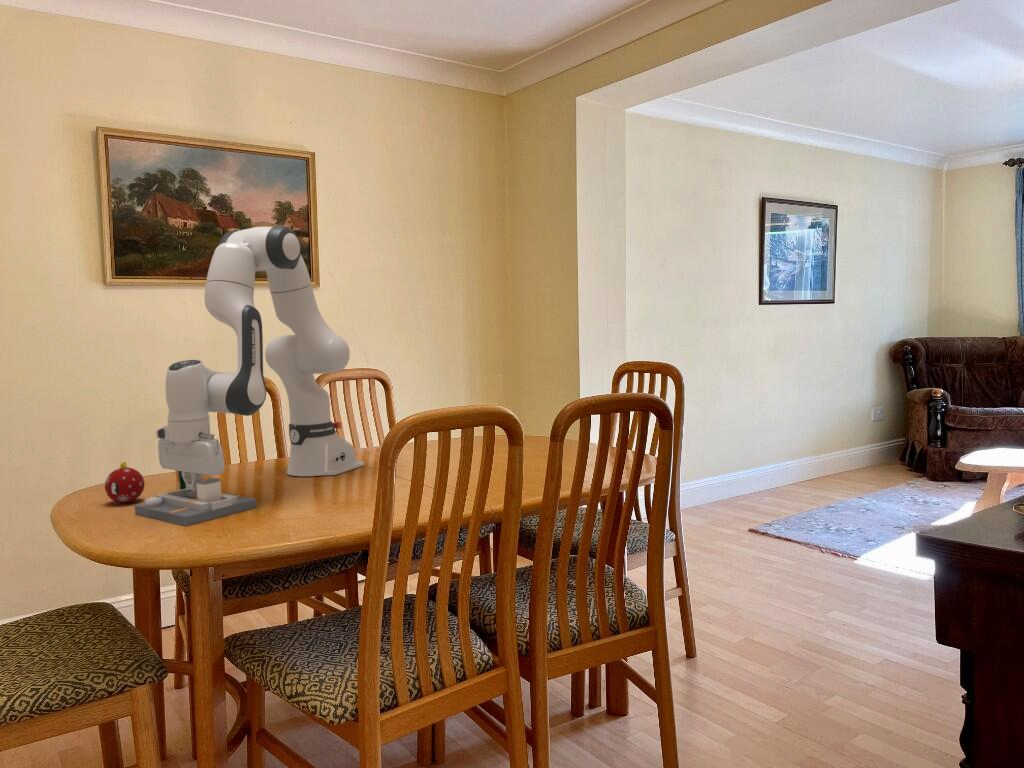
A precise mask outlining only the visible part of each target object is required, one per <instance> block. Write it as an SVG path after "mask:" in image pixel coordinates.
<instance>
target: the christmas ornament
mask: <svg viewBox="0 0 1024 768" xmlns="http://www.w3.org/2000/svg"><path fill="white" fill-rule="evenodd" d="M144 489H145V478H144V476H143V475H142V474H141V473H140V471H138V470H137V469H135V468H132V467H128V466H127V463H126V461H122V462H121V463H120V465H119V468H117V469H114V470H113V471H112V472H110V473H109V474H108V476H107V477H106V479H105V483H104V490H105V491H104V492H105V494H106V495H107V497H108V498H109V499H110V500H111V501H113V502H116V503H119V504H128V503H131V502H134V501H135V500H137V499H138V498H139V497H140V496H141V495H142V493H143V492H144Z"/></svg>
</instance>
